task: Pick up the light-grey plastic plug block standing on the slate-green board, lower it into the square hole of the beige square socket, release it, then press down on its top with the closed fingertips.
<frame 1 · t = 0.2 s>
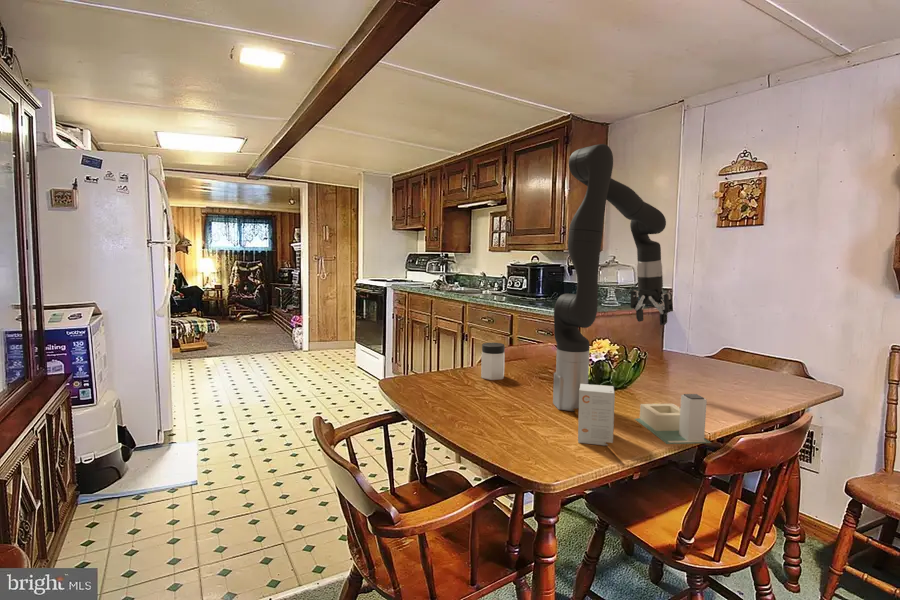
hand: (651, 322, 158), 22 cm above the table, tool pointing down, fingers open, 8 cm apart
plug: (691, 437, 116), point 1 cm above the table, touching board
beige square socket: (664, 424, 125), resting on board
jar: (492, 377, 175), on the table
board: (670, 433, 121), on the table
small box: (595, 440, 117), on the table
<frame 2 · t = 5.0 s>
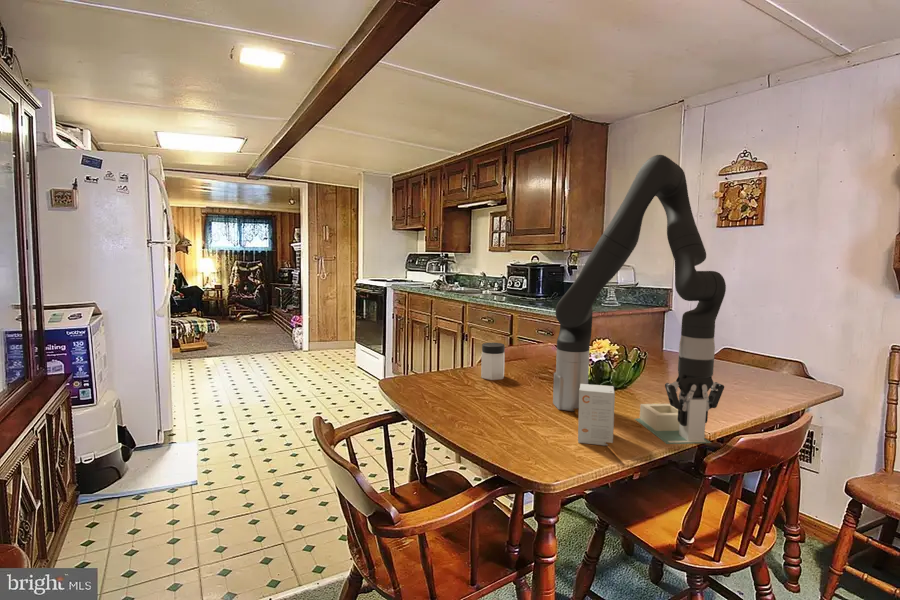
hand: (692, 424, 116), 4 cm above the table, tool pointing down, fingers closed on plug, 4 cm apart
plug: (691, 437, 116), point 1 cm above the table, touching board, gripper
everything else where it was.
when the fingers open (6 cm above the table, at t = 9.6 s): plug drops 2 cm, resting on board.
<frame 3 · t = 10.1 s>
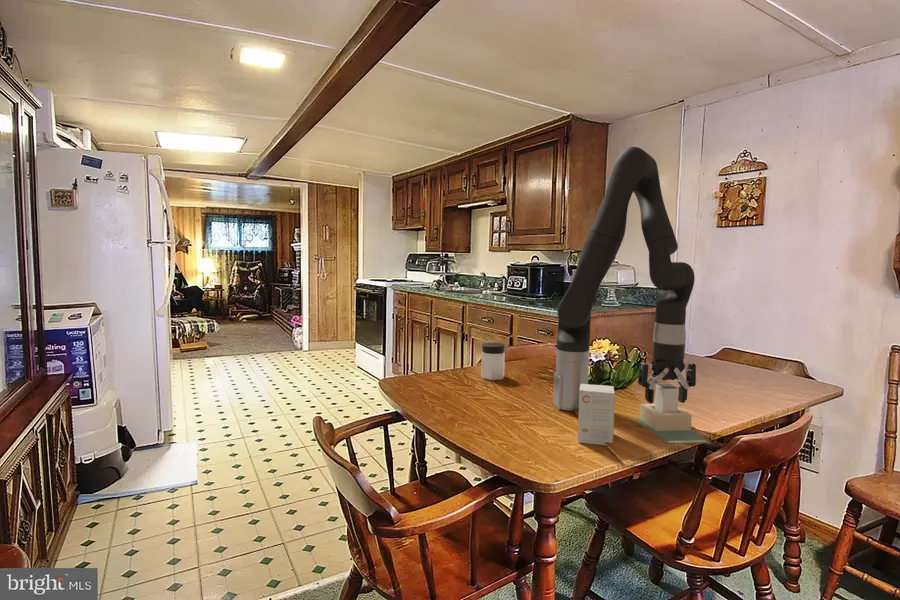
hand: (665, 402, 125), 7 cm above the table, tool pointing down, fingers open, 8 cm apart
plug: (665, 424, 125), point 1 cm above the table, touching board
everything else where it was.
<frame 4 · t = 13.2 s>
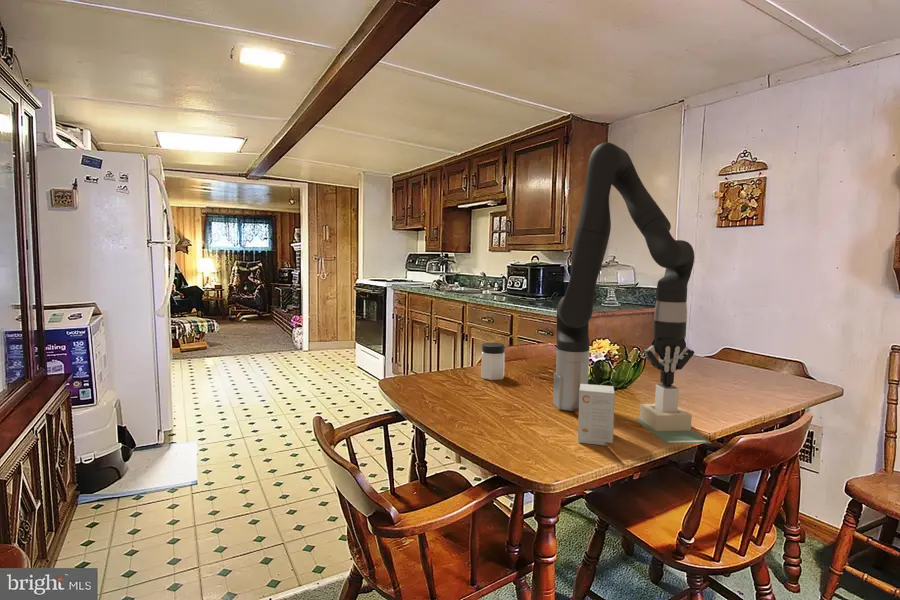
hand: (666, 385, 124), 11 cm above the table, tool pointing down, fingers closed
nothing on the table moved.
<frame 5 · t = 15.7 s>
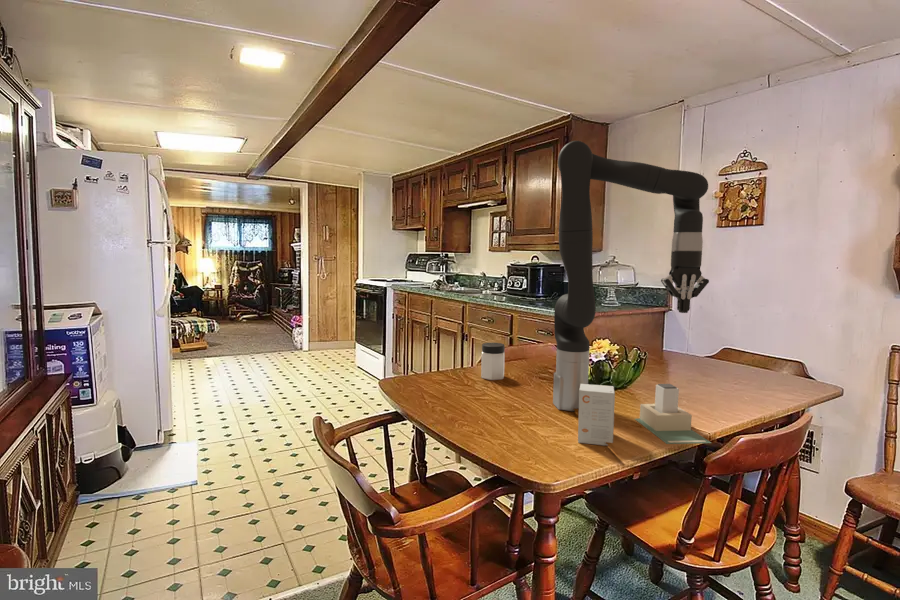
hand: (683, 312, 133), 29 cm above the table, tool pointing down, fingers closed
nothing on the table moved.
at the end: plug 0.2 cm off-centre on the beige square socket, point 0.0 cm above the beige square socket's base; plug tilted 0°; the gripper is holding nothing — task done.
